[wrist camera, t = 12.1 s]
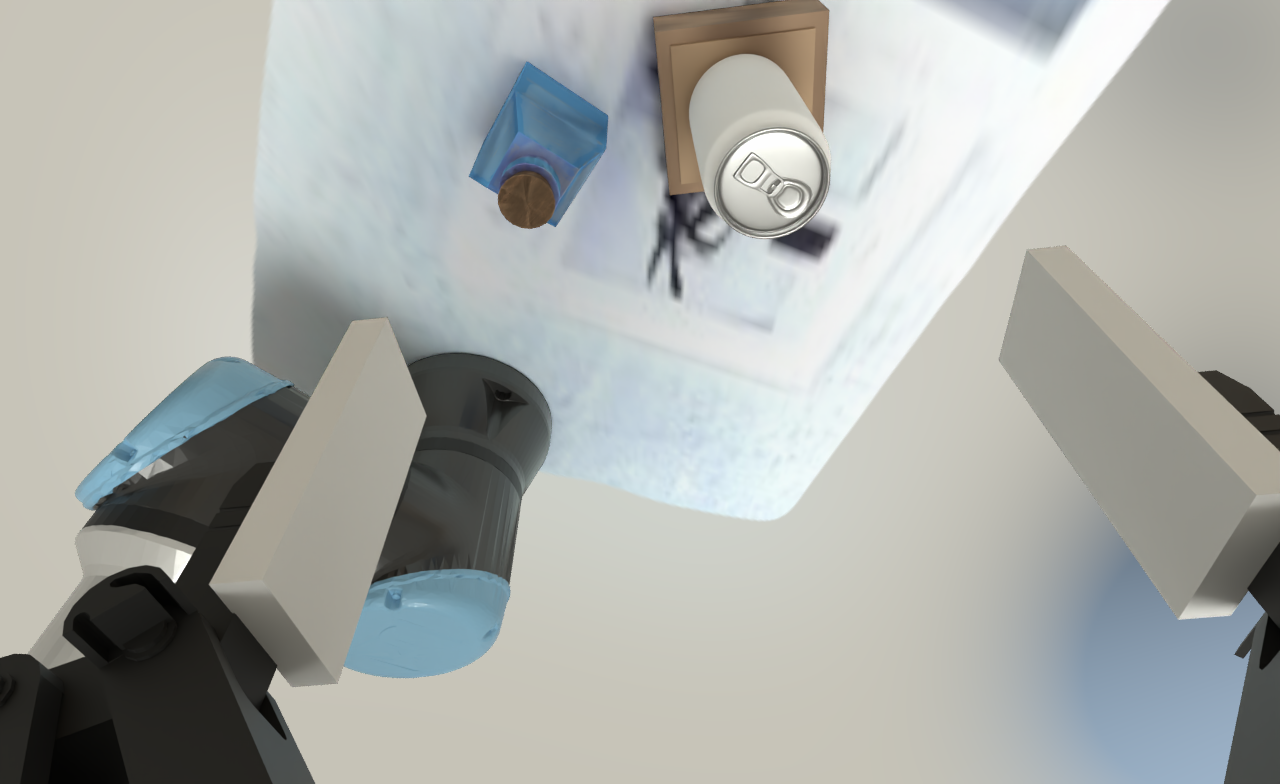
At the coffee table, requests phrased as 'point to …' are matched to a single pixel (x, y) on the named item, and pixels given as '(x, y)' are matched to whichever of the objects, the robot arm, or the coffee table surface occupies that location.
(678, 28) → the plinth
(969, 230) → the coffee table surface
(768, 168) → the can
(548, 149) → the perfume bottle
